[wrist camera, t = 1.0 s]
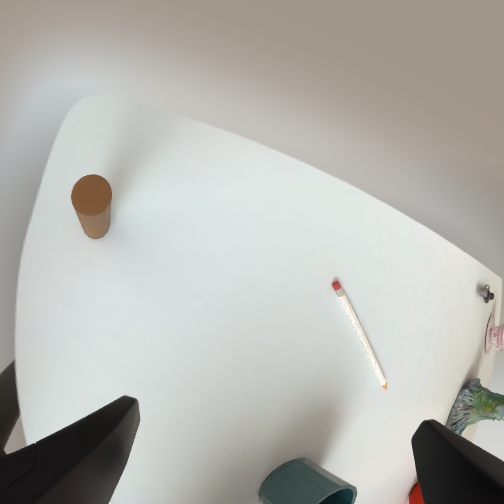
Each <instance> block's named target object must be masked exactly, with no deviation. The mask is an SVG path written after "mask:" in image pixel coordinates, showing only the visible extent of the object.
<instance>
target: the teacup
mask: <svg viewBox="0 0 504 504" xmlns="http://www.w3.org/2000/svg"><path fill="white" fill-rule="evenodd" d="M492 343H494V344H495V343H497V344H499V345H500V349H498V348H496V347H495V345H494V344H493V346H494V347H495V349H497V350H500V351H501V350H502V349H501V348H502V347H503V349H504V324H503V325H500V326H495V320H494V316H491V317H490V320H489V323H488V328H487V334H486V346H485V348H486V353H489V352H490V350H491V347H492Z"/></svg>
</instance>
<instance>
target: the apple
mask: <svg viewBox="0 0 504 504" xmlns="http://www.w3.org/2000/svg"><path fill="white" fill-rule="evenodd" d="M409 504H424V501H423V497H422V493H421V489H420V486H419V483H417V484H416V486H415V487H414V488H413V490H412V492H411V494H410V496H409Z"/></svg>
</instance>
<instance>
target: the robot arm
mask: <svg viewBox="0 0 504 504" xmlns="http://www.w3.org/2000/svg"><path fill="white" fill-rule="evenodd" d="M139 423H140V412H139V403H138V400H137V399H136V398H133V397H130V396H126V395H124V396H122V397H120V398H118V399H116V400H115V401H113V402H111V403H109V404H108V405H106V406H104V407H102V408H100V409H99V410H97V411H95V412H93V413H91V414H90V415H88V416H86V417H84V418H82V419H80V420H78V421H77V422H75V423H73V424H71V425H69V426H67V427H65V428H63V429H61V430H59V431H57V432H55V433H53V434H51V435H49V436H47V437H45V438H43V439H41V440H39V441H37V442H36V444H35V443H33V444H31V445H29V446H27V447H24V448H22V449H20V450H18V451H15V452H13V453H10V454H7V455H4V456H1V457H0V504H109V501H110V499H111V497H112V495H113V493H114V490H115V488H116V486H117V484H118V482H119V479H120V477H121V475H122V473H123V471H124V469H125V466H126V464H127V461H128V458H129V455H130V452H131V448H132V445H133V442H134V439H135V436H136V432H137V429H138V426H139ZM411 443H412V449H413V454H414V460H415V466H416V472H417V478H418V482H419V486H420V489H421V493H422V497H423V501H424V504H504V461H502V460H501V459H499V458H497V457H495V456H494V455H492V454H490V453H489V452H487V451H485V450H483V449H482V448H480V447H478V446H477V445H475V444H473V443H472V442H470V441H468V440H467V439H465V438H463V437H462V436H460V435H458V434H457V433H455V432H454V431H452V430H450V429H449V428H447V427H445V426H444V425H442V424H441V423H439V422H437V421H436V420H434V419H430V420H424V421H423V422H422V423H421V424H420V426H419V427H418V429H417V430H416V432H415V433H414V435H413V437H412V440H411Z"/></svg>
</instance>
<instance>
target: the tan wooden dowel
mask: <svg viewBox="0 0 504 504" xmlns="http://www.w3.org/2000/svg"><path fill="white" fill-rule="evenodd" d="M111 198H112V191H111V187H110V185H109V183H108V182H107V180H106V179H104V178H103V177H101V176H99V175H87V176H84V177H82V178H81V179H80V180H78V181H77V183H76V184H75V185H74V187H73V190H72V194H71V200H72V204H73V207H74V209H75V211H76V214H77V216H78V218H79V221H80V223H81V225H82V228H83V230H84V232H85V234H86V235H87V236H88V237H90V238H93V239H98V238H101V237H103V236H104V235H105V234H106V233H107V231H108V228H109V219H110V208H111Z"/></svg>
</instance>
